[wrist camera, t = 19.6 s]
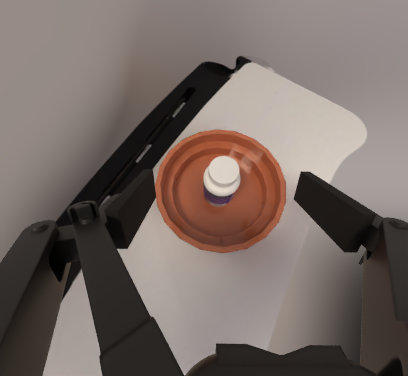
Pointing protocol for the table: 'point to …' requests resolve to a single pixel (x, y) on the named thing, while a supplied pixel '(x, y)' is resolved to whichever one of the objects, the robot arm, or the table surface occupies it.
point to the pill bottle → (221, 181)
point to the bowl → (241, 202)
